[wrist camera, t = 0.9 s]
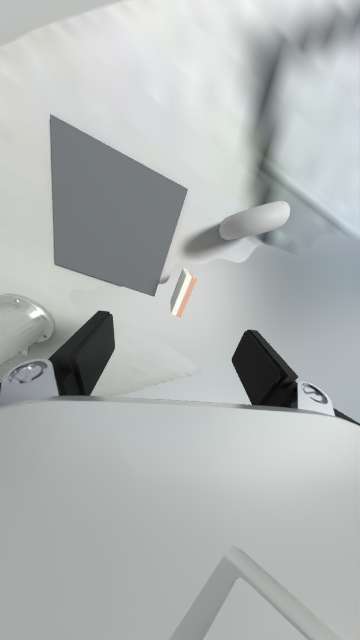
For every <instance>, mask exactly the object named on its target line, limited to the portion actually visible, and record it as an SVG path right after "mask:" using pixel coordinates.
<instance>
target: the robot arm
mask: <svg viewBox="0 0 360 640" xmlns="http://www.w3.org/2000/svg"><path fill="white" fill-rule="evenodd" d="M53 333H54V322H53V320H52V318H51V316H50V315H49V314H48V312H47V311H46V310H45V309H44V308H42V307H41V306H40V305H38V304H37V303H35V302H33V301H32V300H29V299H27V298H25V297H21V296H17V295H1V296H0V366H1V365H2V364H4V363H5V362H6V361H8V360H9V359H10V358H12V357H16V356H18V355H19V352H21V355H27V354H29V350H28V347H29V346H31V345H32V344H33V343H40V342H43V341H46V340H47V339H49V338H50V337H51V336H52V334H53ZM114 349H115V340H114V328H113V316H112V314H110V313H109V312H107V311H98V312H97V313H96V314H95V315H94V316H93V317H92V318H91V319H90V320H88V321H87V322H86V323H85V324H84V325H83V326H82V327H81V328H80V329H79V330H78V331H77V332H76V333H75V334H74V335H73V336H72V337H71V338H70V339H69V340H68V341H67V342H66V343H65V344H63V345H62V346H61V347H60V348H59V349H58V350H57V351H56V352H55V353H54V354H53V355H52V356H51V357H50V358H49V359H43V358H40V359H32V360H28V361H25V362H22V363H20V364H18V365H16V366H14V367H13V368H11V369H10V370H9V371H8V372H7V373H6V374H5V375H4V376H3V379H2V382H1V383H0V640H360V424H359V423H358V422H356V421H354V420H353V419H351V418H349V417H348V416H346V415H344V414H343V413H341V412H339V411H338V410H336V409H334V408H333V406H332V402H331V400H330V398H329V397H328V396H327V395H326V394H325V393H324V392H323V391H322V390H321V389H319V388H318V387H316V386H315V385H313V384H311V383H309V382H305V381H300V382H298V383H296V381H295V380H296V379H297V378H298V376H297V375H296V373H295V372H294V371H293V370H292V369H291V368H290V367H289V366H288V365H287V363H286V362H285V361H284V360H283V359H282V358H281V357H280V356H279V354H277V352H276V351H275V350H274V349H273V348H272V347H271V346H270V345H269V343H268V342H267V341H266V340H265V339H264V338H263V337H262V336H261V334H260V333H259V332H258V331H255V330H247V331H246V332H244V334H243V336H242V338H241V340H240V342H239V345H238V347H237V349H236V351H235V353H234V355H233V357H232V363H233V365H234V367H235V369H236V372H237V374H238V376H239V378H240V380H241V382H242V384H243V386H244V389H245V391H246V393H247V395H248V397H249V399H250V402H251V404H252V405H244V404H228V403H213V402H197V401H180V400H163V399H145V398H127V397H105V396H90V394H91V393H92V391H93V389H94V387H95V385H96V383H97V381H98V380H99V378H100V376H101V374H102V372H103V370H104V368H105V366H106V365H107V363H108V361H109V359H110V357H111V355H112V353H113V351H114Z"/></svg>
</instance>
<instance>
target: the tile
mask: <svg viewBox="0 0 360 640" xmlns="http://www.w3.org/2000/svg"><path fill="white" fill-rule="evenodd" d="M196 280H197V279H196V278H195V276H194V274H193V273H192V272H191V271H189V270H186V269H184V268H183V269H182V272H181V275H180V277H179V281H178V283H177V285H176V288H175V291H174V293H173V296H172V299H171V314H172V315H175V316H178V317H181V315H182V313H183V310H184V308H185V306H186V303H187V301H188V299H189V297H190V294H191V292H192V290H193V287H194V285H195V282H196Z"/></svg>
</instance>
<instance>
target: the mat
mask: <svg viewBox="0 0 360 640" xmlns="http://www.w3.org/2000/svg"><path fill="white" fill-rule="evenodd" d="M50 123H51V155H52V187H53V219H54V251H55V264H57V265H60V266H63V267H66V268H69V269H72V270H75V271H78V272H81V273H84V274H87V275H90V276H93V277H96V278H99V279H102V280H105V281H108V282H111V283H115V284H118V285H121V286H124V287H127V288H130V289H133V290H136V291H139V292H142V293H145V294H148V295H151V296H155V292H156V289H157V286H158V283H159V280H160V276H161V273H162V270H163V267H164V264H165V260H166V257H167V254H168V251H169V248H170V244H171V241H172V238H173V235H174V232H175V228H176V225H177V222H178V219H179V216H180V212H181V209H182V206H183V203H184V200H185V196H186V193H187V190H188V189H186V188H185V187H183V186H181V185H179V184H177V183H175V182H174V181H172V180H170V179H168V178H166V177H164V176H163V175H161V174H159V173H157V172H155V171H153V170H152V169H150V168H148V167H146V166H144V165H142V164H141V163H139V162H137V161H135V160H133V159H132V158H130V157H128V156H126V155H124V154H122V153H121V152H119V151H117V150H115V149H113V148H111V147H110V146H108V145H106V144H104V143H102V142H100V141H99V140H97V139H95V138H93V137H91V136H89V135H88V134H86V133H84V132H82V131H80V130H78V129H77V128H75V127H73V126H71V125H69V124H68V123H66V122H64V121H62V120H60V119H58V118H57V117H55V116H53V115H51V114H50Z"/></svg>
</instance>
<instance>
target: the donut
mask: <svg viewBox="0 0 360 640" xmlns="http://www.w3.org/2000/svg"><path fill="white" fill-rule="evenodd" d="M289 214H290V207H289V205H288V203H286V202H284V201H277V202H272V203H268V204H265V205H261V206H258V207H255V208H251V209H248V210H245V211H242V212H239V213H236V214H234V215H231V216H229V217H227V218H225V219H224V220H223V221H222V222H221V224H220V227H219V233H220V236H221V237H222V238H223V239H225V240H233V239H239V238H244V237H249V236H253V235H257V234H261V233H264V232H268V231H271V230H274V229H276V228H278V227H280V226H282V225H283V224H284V223H285V222H286V221H287V219H288V217H289Z"/></svg>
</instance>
